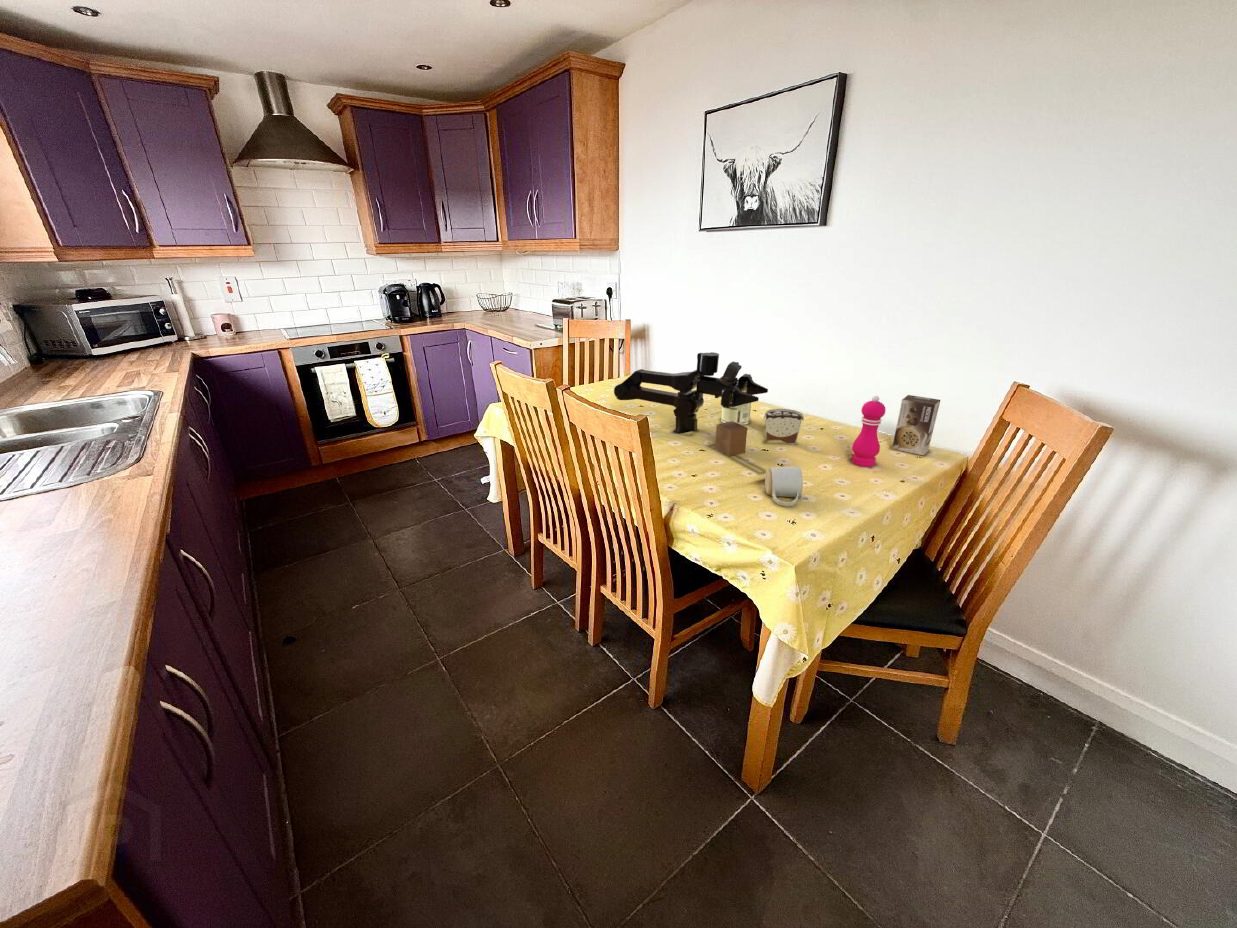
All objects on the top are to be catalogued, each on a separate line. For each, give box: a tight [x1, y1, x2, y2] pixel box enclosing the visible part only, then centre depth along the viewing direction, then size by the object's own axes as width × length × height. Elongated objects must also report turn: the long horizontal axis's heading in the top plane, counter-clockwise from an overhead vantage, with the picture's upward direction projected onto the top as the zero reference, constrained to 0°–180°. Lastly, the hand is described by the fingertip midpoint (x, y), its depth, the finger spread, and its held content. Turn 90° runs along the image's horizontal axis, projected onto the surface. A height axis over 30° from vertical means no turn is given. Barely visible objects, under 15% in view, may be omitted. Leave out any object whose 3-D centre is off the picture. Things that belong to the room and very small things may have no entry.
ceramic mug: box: [764, 466, 804, 508], centre depth 124 cm, size 11×8×8 cm
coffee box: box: [891, 394, 941, 456], centre depth 151 cm, size 9×6×16 cm
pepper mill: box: [851, 395, 886, 467], centre depth 142 cm, size 7×7×20 cm
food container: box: [763, 408, 805, 445], centre depth 161 cm, size 12×6×10 cm, turn 84°
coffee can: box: [720, 381, 752, 426], centre depth 179 cm, size 10×10×14 cm
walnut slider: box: [714, 421, 748, 457], centre depth 150 cm, size 7×6×8 cm
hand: (763, 395), depth 153 cm, fingers open, 9 cm apart
